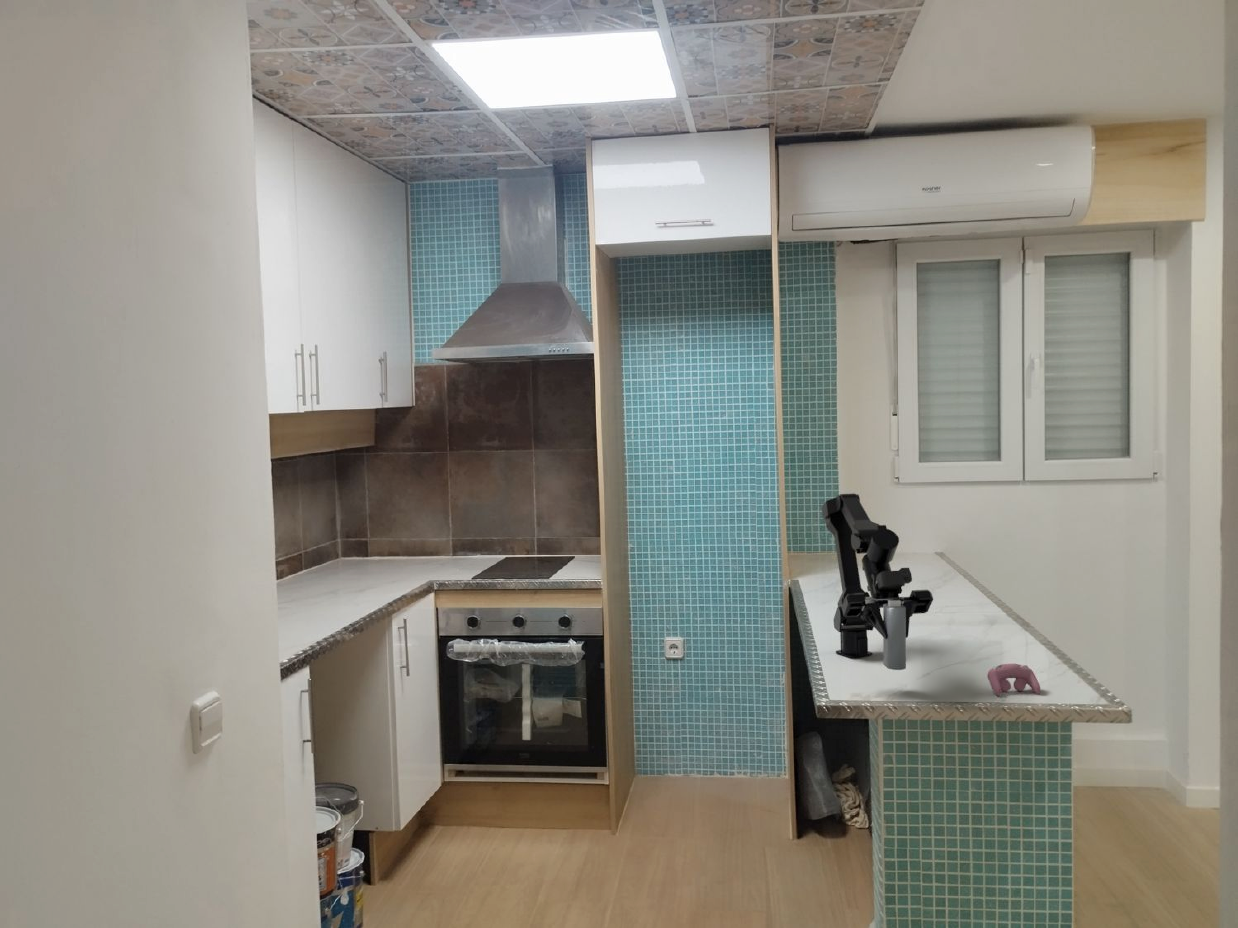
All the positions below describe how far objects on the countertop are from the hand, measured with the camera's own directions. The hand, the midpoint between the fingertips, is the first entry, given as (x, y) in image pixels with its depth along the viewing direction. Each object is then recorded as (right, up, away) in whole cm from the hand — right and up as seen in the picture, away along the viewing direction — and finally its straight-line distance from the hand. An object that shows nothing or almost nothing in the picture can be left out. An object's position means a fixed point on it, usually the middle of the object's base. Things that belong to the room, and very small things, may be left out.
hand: (896, 637), depth 214 cm
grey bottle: (0, -6, +2) cm, 7 cm away
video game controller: (+24, -12, -1) cm, 27 cm away
